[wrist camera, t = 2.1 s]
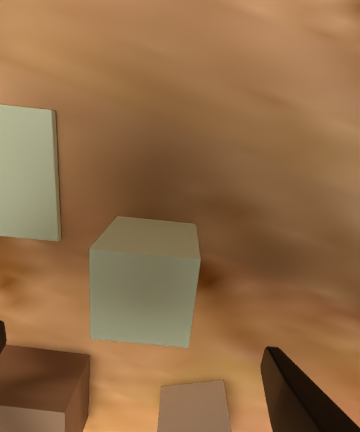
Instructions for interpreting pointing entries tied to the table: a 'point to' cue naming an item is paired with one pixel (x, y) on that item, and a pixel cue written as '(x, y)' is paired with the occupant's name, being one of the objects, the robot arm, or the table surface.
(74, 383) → the walnut base
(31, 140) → the tile
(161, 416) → the grey block
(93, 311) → the sage block
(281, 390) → the robot arm
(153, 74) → the table surface
